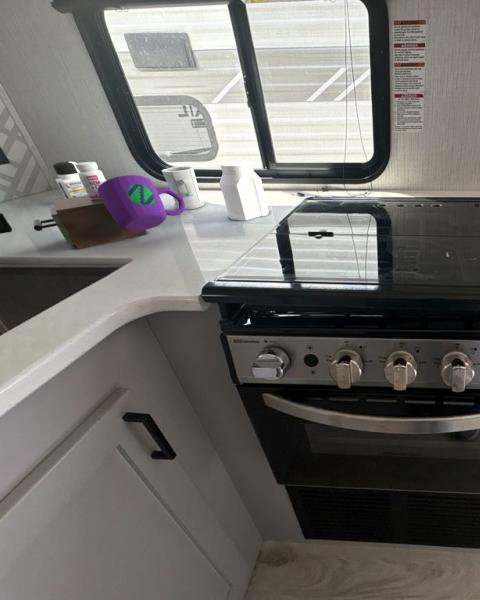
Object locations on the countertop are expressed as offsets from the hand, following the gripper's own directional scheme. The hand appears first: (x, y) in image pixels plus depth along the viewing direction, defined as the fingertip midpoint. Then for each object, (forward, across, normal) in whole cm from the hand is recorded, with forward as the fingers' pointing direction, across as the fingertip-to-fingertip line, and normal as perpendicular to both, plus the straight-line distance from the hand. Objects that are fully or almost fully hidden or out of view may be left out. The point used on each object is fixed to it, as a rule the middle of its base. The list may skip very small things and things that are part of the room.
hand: (2, 232), depth 76 cm
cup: (+5, -12, +42) cm, 44 cm away
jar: (+5, +11, +52) cm, 53 cm away
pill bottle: (-4, 0, +20) cm, 20 cm away
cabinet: (+5, +1, +18) cm, 19 cm away
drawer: (+4, +1, +14) cm, 15 cm away
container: (+6, -51, +17) cm, 54 cm away
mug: (+1, +14, +28) cm, 32 cm away
